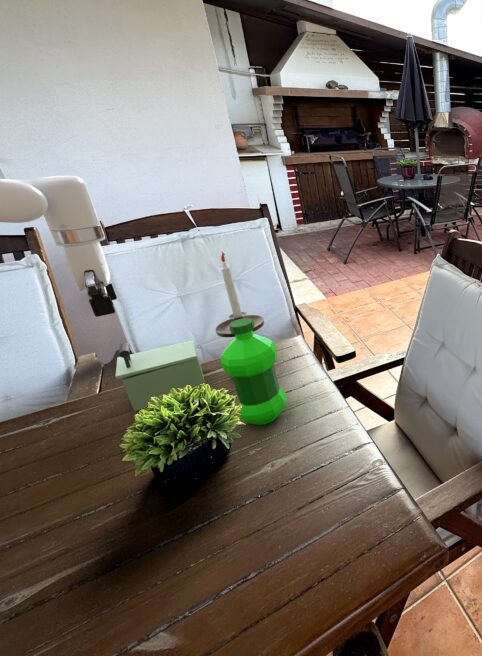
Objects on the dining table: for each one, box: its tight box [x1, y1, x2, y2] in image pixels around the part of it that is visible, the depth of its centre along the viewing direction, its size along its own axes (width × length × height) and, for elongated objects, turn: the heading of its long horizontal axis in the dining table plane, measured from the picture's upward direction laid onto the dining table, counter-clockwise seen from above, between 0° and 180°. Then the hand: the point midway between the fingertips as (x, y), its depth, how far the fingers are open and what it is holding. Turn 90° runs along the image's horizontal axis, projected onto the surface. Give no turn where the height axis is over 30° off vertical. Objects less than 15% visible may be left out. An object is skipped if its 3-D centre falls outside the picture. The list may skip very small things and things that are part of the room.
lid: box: [115, 339, 198, 380], centre depth 99 cm, size 15×11×5 cm
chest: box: [121, 345, 206, 412], centre depth 102 cm, size 14×11×9 cm
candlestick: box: [215, 251, 265, 338], centre depth 106 cm, size 11×11×35 cm
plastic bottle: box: [219, 318, 287, 426], centre depth 89 cm, size 10×10×25 cm
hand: (107, 307), depth 91 cm, fingers open, 9 cm apart
